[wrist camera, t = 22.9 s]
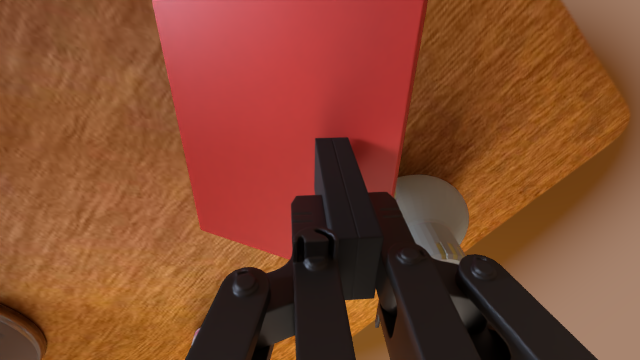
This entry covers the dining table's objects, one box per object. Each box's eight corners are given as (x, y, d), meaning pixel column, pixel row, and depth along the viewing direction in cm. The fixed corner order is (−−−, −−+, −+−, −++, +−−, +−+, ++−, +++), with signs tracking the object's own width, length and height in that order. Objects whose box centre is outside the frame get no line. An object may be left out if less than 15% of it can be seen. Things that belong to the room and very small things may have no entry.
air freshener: (402, 253, 40) (434, 332, 32) (341, 231, 37) (358, 311, 29) (465, 181, 35) (523, 252, 27) (400, 149, 32) (442, 217, 24)
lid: (433, -29, 12) (430, -29, 11) (380, 279, 20) (376, 289, 20) (156, -40, 16) (142, -40, 15) (207, 223, 24) (200, 230, 24)
